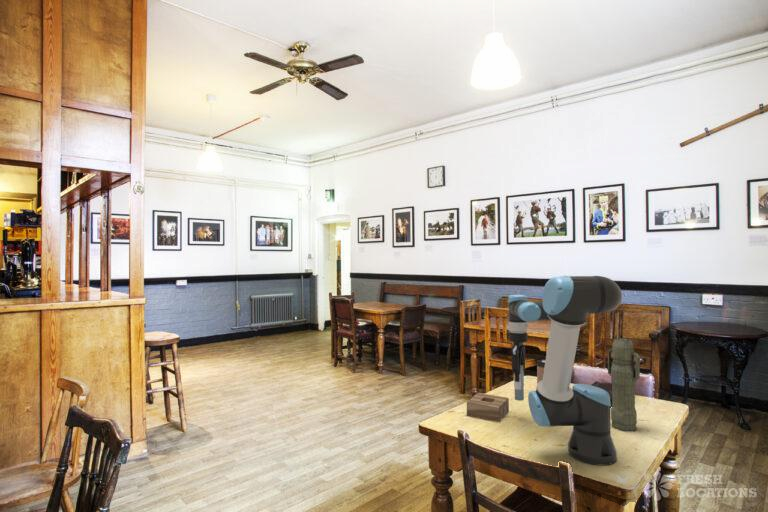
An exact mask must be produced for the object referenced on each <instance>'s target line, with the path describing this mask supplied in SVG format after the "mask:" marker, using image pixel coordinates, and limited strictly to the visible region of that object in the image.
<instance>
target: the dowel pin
mask: <svg viewBox="0 0 768 512" xmlns="http://www.w3.org/2000/svg"><path fill="white" fill-rule="evenodd" d="M520 374H521V390H518V389H514V400H515V401H521V402H522V401H524V400H525V396H524V395H525V392H524V391H525V389H524V387H525V382H523V365H520Z"/></svg>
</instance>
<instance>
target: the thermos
mask: <svg viewBox="0 0 768 512" xmlns="http://www.w3.org/2000/svg"><path fill="white" fill-rule="evenodd" d="M611 347H612V348H610V349H608V350H607V357H606V358H607V374H608V375H609V376H610V383H612V408H610V421H611V427H612V428H613V429H615V430H617V429H618V431H621V432H626V431H633V432H636V431H637V418H638V416H637V415H638V413H637V409H636V394H635V393H636V389H635V388H636V385H637V380H639V379H640V378H641V375H640V370H641V368H640V367H641V365H640V364H641V357H640V355H639V354H638V353H637V352H635V347H634V343H633V341H632V340H631V339H630V338H626V337H625V338H623V337H617V338H615V339H614V340H613V342H612V346H611ZM634 361H635V363H634ZM635 430H636V431H635Z"/></svg>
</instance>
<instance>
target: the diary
mask: <svg viewBox="0 0 768 512" xmlns="http://www.w3.org/2000/svg"><path fill="white" fill-rule="evenodd" d="M590 385H591V386H595V387H598V388H601V389H603V390H605V391H606V392H608V394H609V395H610V403H611V406H610V409H611V407H612V383H611V382H606V381H597V380H595V381H594V382H593V383H591V384H590Z"/></svg>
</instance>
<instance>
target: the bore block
mask: <svg viewBox="0 0 768 512" xmlns="http://www.w3.org/2000/svg"><path fill="white" fill-rule="evenodd" d="M509 408H510V400H509V397H506V396H500V395H494V394H487V393H481V392H477V393H475V394H474V395H473V396H472V397H470V399H468V400H467V401H466V417H471V418H477V419H483V420H486V421H492V422H497V423H500V422H501V421H502V420H503V419H504V417H505V416H506V415H507V414H508V413H509V411H510V409H509Z"/></svg>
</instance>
